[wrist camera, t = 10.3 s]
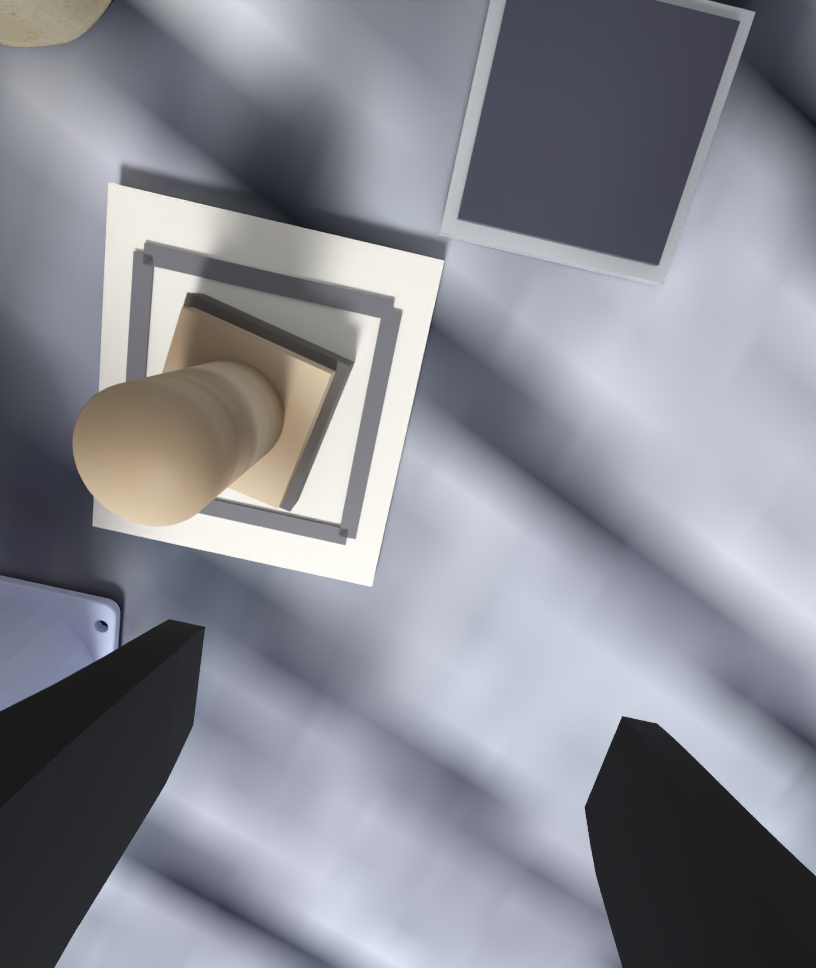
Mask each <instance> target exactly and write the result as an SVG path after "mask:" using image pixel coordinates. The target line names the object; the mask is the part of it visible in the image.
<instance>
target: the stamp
mask: <svg viewBox="0 0 816 968" xmlns="http://www.w3.org/2000/svg"><path fill="white" fill-rule="evenodd" d="M354 363H355V362H353V361H351V360H349V359H346V358H344V357H342V356H340V355H338V354H335V353H333V352H331V351H329V350H327V349H324V348H322V347H320V346H318V345H316V344H313V343H311V342H309V341H307V340H305V339H302V338H300V337H298V336H296V335H294V334H291V333H289V332H287V331H285V330H283V329H280V328H278V327H276V326H274V325H272V324H269V323H267V322H265V321H263V320H261V319H258V318H256V317H254V316H252V315H250V314H248V313H245V312H243V311H241V310H239V309H237V308H234V307H232V306H230V305H228V304H226V303H223V302H221V301H219V300H217V299H215V298H212V297H210V296H208V295H206V294H202V293H189V292H187V294H186V298H185V301H184V304H183V307H182V308H181V312H180V315H179V318H178V321H177V325H176V328H175V331H174V335H173V338H172V341H171V345H170V348H169V351H168V355H167V358H166V361H165V365H164V368H163V371H162V374H158V375H154V376H149V377H145V378H141V379H136V380H132V381H128V382H124V383H119V384H116V385H113V386H110V387H108V388H106V389H104V390H102V391H100V392H99V393H97V394H96V395H94V396H93V397H92V398H91V399H90V400H89V401H88V402H87V403H86V405H85V406H84V407H83V409H82V410H81V412H80V414H79V416H78V418H77V421H76V424H75V427H74V432H73V444H72V445H73V455H74V459H75V464H76V467H77V469H78V472H79V474H80V476H81V478H82V480H83V482H84V484H85V485H86V487H87V488H88V490H89V491H90V492H91V494H92V495H93V496H94V497H95V498H96V499H97V500H98V501H99V502H100V503H101V504H102V505H103V506H104V507H106V508H107V509H108V510H109V511H111V512H113V513H114V514H116V515H117V516H119V517H121V518H123V519H125V520H128V521H131V522H133V523H136V524H141V525H145V526H169V525H174V524H178V523H181V522H183V521H186V520H188V519H190V518H191V517H193V516H195V515H196V514H197V513H199V512H200V511H201V510H202V509H203V508H204V507H206V506H207V505H208V504H209V503H210V502H211V501H212V500H214V499H215V498H216V497H217V496H218V495H219V494H221V493H222V492H223V491H224V490H225V489H226V488H230V489H233V490H235V491H237V492H240V493H242V494H244V495H247V496H249V497H251V498H254V499H256V500H258V501H261V502H263V503H265V504H268V505H270V506H272V507H275V508H277V509H278V508H279V507H280V508H282V509H284V510H287V511H289V512H290V511H291V510H292V509H293V507H294V506H295V504H296V503H297V502H298V500H299V498H300V496H301V493H302V491H303V488H304V486H305V483H306V481H307V478H308V476H309V474H310V471H311V469H312V466H313V464H314V461H315V459H316V456H317V454H318V451H319V449H320V447H321V444H322V442H323V439H324V437H325V434H326V432H327V429H328V427H329V424H330V422H331V420H332V417H333V415H334V412H335V410H336V407H337V405H338V402H339V400H340V398H341V395H342V393H343V390H344V388H345V385H346V383H347V380H348V378H349V375H350V373H351V371H352V368H353V366H354Z"/></svg>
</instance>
